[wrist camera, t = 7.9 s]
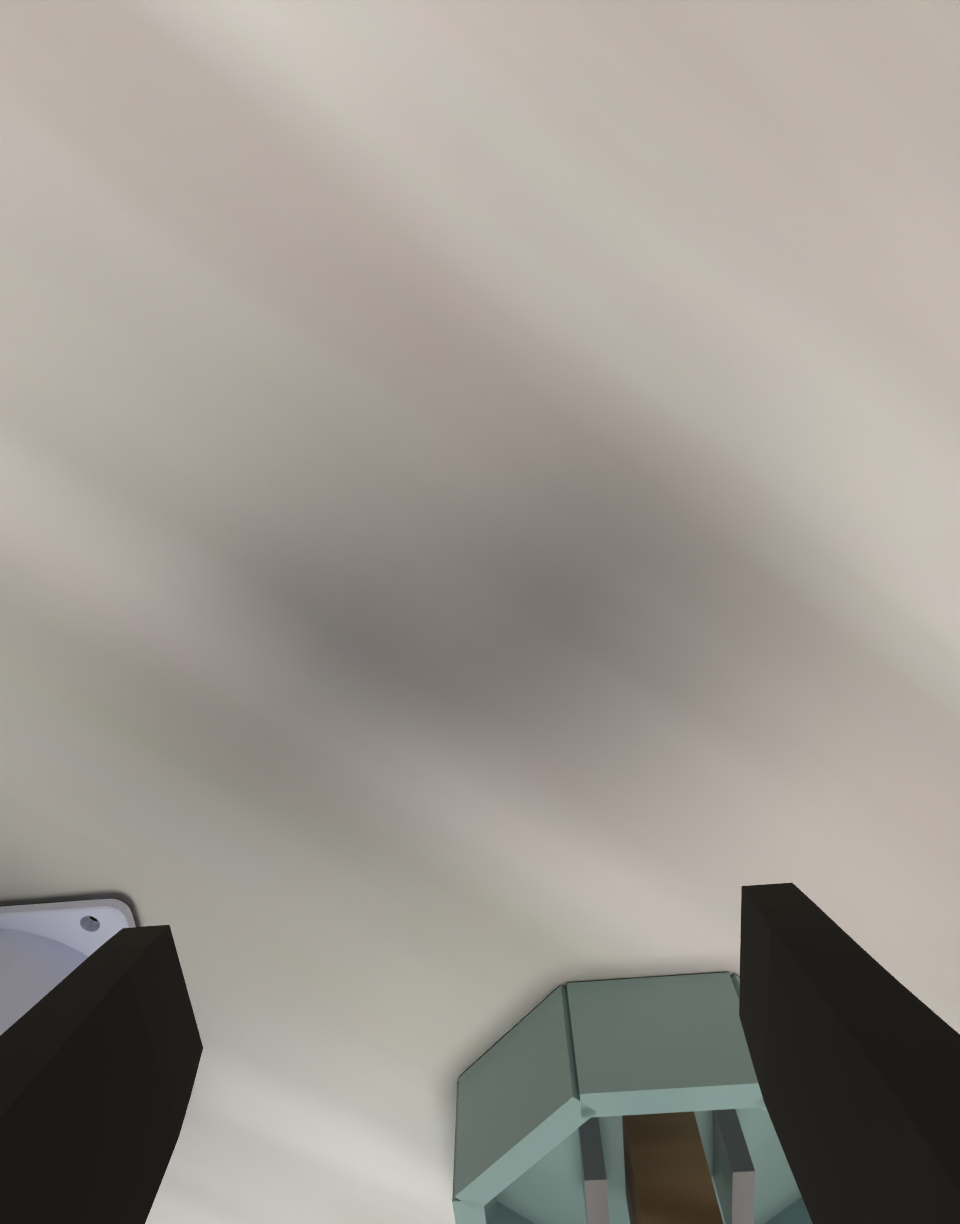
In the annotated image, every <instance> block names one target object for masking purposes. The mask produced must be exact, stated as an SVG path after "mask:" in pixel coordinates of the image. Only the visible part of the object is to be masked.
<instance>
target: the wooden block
mask: <svg viewBox="0 0 960 1224" xmlns="http://www.w3.org/2000/svg"><path fill="white" fill-rule="evenodd" d="M622 1125H623V1147H624V1168H625V1190H626V1200H627V1206H628V1212H629V1219H630V1224H723V1220H722V1216H721V1212H720V1209H719V1205H718V1201H717V1197H716V1193H715V1190H714V1186H713V1182H712V1178H711V1174H710V1171H709V1167H708V1163H707V1159H706V1156H705V1152H704V1148H703V1144H702V1140H701V1137H700V1133H699V1129H698V1125H697V1121H696V1118H695V1114H694V1111H691V1112H674V1113H657V1114H640V1115H624V1116H622Z"/></svg>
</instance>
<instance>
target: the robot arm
mask: <svg viewBox="0 0 960 1224" xmlns="http://www.w3.org/2000/svg"><path fill="white" fill-rule="evenodd" d="M89 916H93V917H94V918H96V919H97V920H98V921H94V920H92V919H90V918H89ZM739 1017H740V1020H741V1024H742V1027H743V1031H744V1035H745V1038H746V1042H747V1045H748V1049H749V1053H750V1056H751V1060H752V1063H753V1067H754V1070H755V1073H756V1077H757V1080H758V1083H759V1087H760V1090H761V1094H762V1097H763V1100H764V1103H765V1106H766V1108H767V1111H768V1114H769V1116H770V1119H771V1121H772V1124H773V1126H774V1129H775V1131H776V1134H777V1136H778V1139H779V1141H780V1144H781V1146H782V1149H783V1151H784V1154H785V1156H786V1159H787V1161H788V1164H789V1166H790V1169H791V1171H792V1174H793V1176H794V1179H795V1181H796V1184H797V1186H798V1189H799V1191H800V1193H801V1196H802V1198H803V1201H804V1203H805V1206H806V1208H807V1211H808V1213H809V1216H810V1218H811V1221H812V1223H813V1224H960V1034H958V1033H957V1032H956V1031H955V1030H954V1029H952V1028H951V1027H950V1026H949V1025H948V1024H947V1023H946V1022H944V1021H943V1020H942V1019H941V1018H940V1017H939V1016H938V1015H936V1014H935V1013H934V1012H933V1011H932V1010H931V1009H930V1008H928V1007H927V1006H926V1005H925V1004H924V1003H923V1002H921V1001H920V1000H919V999H918V998H917V997H916V996H915V995H913V994H912V993H911V992H910V991H909V990H908V989H907V988H905V987H904V986H903V985H902V984H901V983H900V982H899V981H898V980H896V979H895V978H894V977H893V976H892V975H891V974H890V973H889V972H888V971H886V970H885V969H884V968H883V967H882V966H881V965H880V964H879V963H878V962H877V961H875V960H874V959H873V958H872V957H871V956H870V955H869V954H868V953H867V952H866V951H865V950H864V949H863V948H861V947H860V946H859V945H858V944H857V943H856V942H855V941H854V940H853V939H852V938H851V937H850V936H849V935H847V934H846V933H845V932H844V931H843V930H842V929H841V928H840V927H839V926H838V925H837V924H836V923H835V922H834V921H833V920H832V919H831V918H829V917H828V916H827V915H826V914H825V913H824V912H823V911H822V910H821V909H820V908H819V907H818V906H817V905H816V904H815V903H814V902H812V901H811V900H810V899H809V898H808V897H807V896H806V895H805V894H804V893H803V892H802V891H801V890H800V889H798V888H797V887H796V886H795V885H794V884H793V883H782V884H767V885H753V886H742V900H741V947H740V994H739ZM202 1050H203V1046H202V1042H201V1039H200V1035H199V1031H198V1028H197V1024H196V1020H195V1017H194V1013H193V1010H192V1006H191V1002H190V999H189V995H188V991H187V988H186V984H185V980H184V977H183V973H182V969H181V966H180V962H179V958H178V955H177V951H176V947H175V944H174V940H173V936H172V933H171V929H170V925H161V926H146V927H136V925H135V922H134V919H133V915H132V912H131V910H130V908H129V907H128V906H127V905H126V904H125V903H124V902H122V901H119V900H117V899H97V900H84V901H70V902H56V903H42V904H29V905H15V906H1V907H0V1224H145V1222H146V1219H147V1217H148V1214H149V1212H150V1209H151V1207H152V1204H153V1202H154V1199H155V1197H156V1194H157V1192H158V1189H159V1186H160V1184H161V1181H162V1179H163V1176H164V1174H165V1171H166V1169H167V1166H168V1163H169V1161H170V1158H171V1156H172V1153H173V1150H174V1148H175V1145H176V1143H177V1140H178V1137H179V1134H180V1131H181V1127H182V1124H183V1120H184V1117H185V1114H186V1110H187V1107H188V1103H189V1100H190V1096H191V1092H192V1088H193V1085H194V1081H195V1077H196V1073H197V1069H198V1065H199V1061H200V1057H201V1053H202Z"/></svg>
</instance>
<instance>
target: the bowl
mask: <svg viewBox="0 0 960 1224" xmlns="http://www.w3.org/2000/svg"><path fill="white" fill-rule="evenodd" d="M739 994H740V977H739V976H737V975H736V974H734V975H733V976H732V977H730V974H729V972H724V973H709V974H694V975H679V976H664V977H649V978H634V979H619V980H604V981H589V982H574V983H567V989H565V988H564V987H562V986H561V985H560V986H559V987H558V988H557V989H556V990H555V991H554V992H553V993H552V994H550V995H549V996H548V997H547V998H546V999H545V1000H544V1001H543V1002H542V1003H541V1004H539V1005H538V1006H537V1007H536V1008H535V1009H534V1010H533V1011H532V1012H531V1013H530V1014H528V1015H527V1016H526V1017H525V1018H524V1019H523V1020H522V1021H521V1022H520V1023H519V1024H517V1025H516V1026H515V1027H514V1028H513V1029H512V1030H511V1031H510V1032H509V1033H507V1034H506V1035H505V1036H504V1037H503V1038H502V1039H501V1040H500V1041H499V1042H498V1043H496V1044H495V1045H494V1046H493V1047H492V1048H491V1049H490V1050H489V1051H488V1052H487V1053H485V1054H484V1055H483V1056H482V1057H481V1058H480V1059H479V1060H478V1061H477V1062H476V1063H474V1064H473V1065H472V1066H471V1067H470V1068H469V1069H468V1070H467V1071H466V1072H464V1073H463V1074H462V1075H461V1076H460V1077H459V1082H457V1106H456V1129H455V1153H454V1176H453V1200H452V1202H453V1209H454V1215H455V1222H456V1224H630V1219H629V1212H628V1206H627V1200H626V1190H625V1168H624V1147H623V1125H622V1116H624V1115H640V1114H657V1113H674V1112H691V1111H694V1114H695V1118H696V1121H697V1125H698V1129H699V1133H700V1137H701V1140H702V1144H703V1148H704V1152H705V1156H706V1159H707V1163H708V1167H709V1171H710V1174H711V1178H712V1182H713V1186H714V1190H715V1193H716V1197H717V1201H718V1205H719V1209H720V1212H721V1216H722V1220H723V1224H813V1223H812V1221H811V1218H810V1216H809V1213H808V1211H807V1208H806V1206H805V1203H804V1201H803V1198H802V1196H801V1193H800V1191H799V1189H798V1186H797V1184H796V1181H795V1179H794V1176H793V1174H792V1171H791V1169H790V1166H789V1164H788V1161H787V1159H786V1156H785V1154H784V1151H783V1149H782V1146H781V1144H780V1141H779V1139H778V1136H777V1134H776V1131H775V1129H774V1126H773V1124H772V1121H771V1119H770V1116H769V1114H768V1111H767V1108H766V1106H765V1103H764V1100H763V1097H762V1094H761V1090H760V1087H759V1083H758V1080H757V1077H756V1073H755V1070H754V1067H753V1063H752V1060H751V1056H750V1053H749V1049H748V1045H747V1042H746V1038H745V1035H744V1031H743V1027H742V1024H741V1020H740V1017H739Z"/></svg>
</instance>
